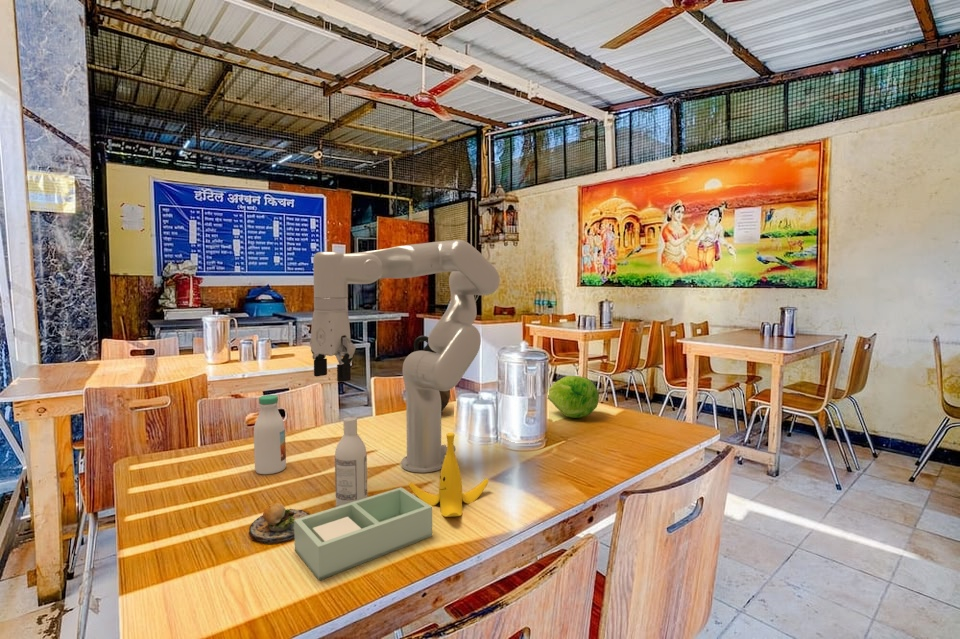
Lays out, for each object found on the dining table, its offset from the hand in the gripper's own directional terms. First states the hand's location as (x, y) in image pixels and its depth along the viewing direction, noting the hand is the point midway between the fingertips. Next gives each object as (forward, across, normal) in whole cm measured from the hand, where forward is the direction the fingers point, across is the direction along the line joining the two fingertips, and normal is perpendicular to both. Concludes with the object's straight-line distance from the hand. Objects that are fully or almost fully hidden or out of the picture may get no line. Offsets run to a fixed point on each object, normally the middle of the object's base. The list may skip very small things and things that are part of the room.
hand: (332, 378), depth 114 cm
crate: (+28, +24, -8) cm, 38 cm away
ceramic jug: (+28, -34, +63) cm, 77 cm away
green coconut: (+27, +10, +96) cm, 100 cm away
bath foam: (+28, +8, 0) cm, 29 cm away
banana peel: (+28, +25, +17) cm, 41 cm away
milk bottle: (+28, -26, -3) cm, 38 cm away
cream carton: (+27, +23, -14) cm, 38 cm away
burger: (+28, +6, -16) cm, 33 cm away
